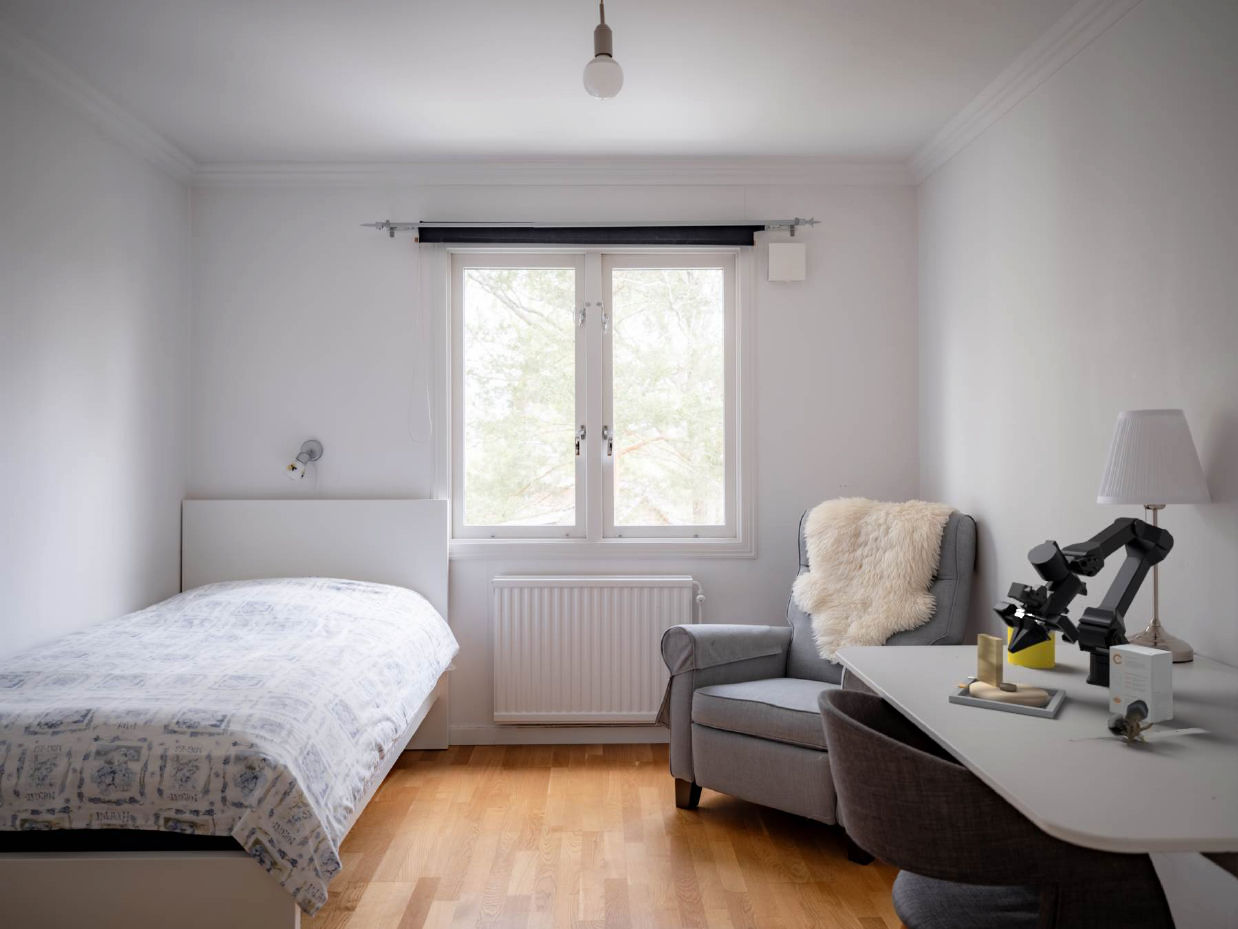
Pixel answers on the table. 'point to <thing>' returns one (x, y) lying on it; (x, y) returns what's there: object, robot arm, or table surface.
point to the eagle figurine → (1131, 721)
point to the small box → (1141, 680)
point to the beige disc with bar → (1001, 678)
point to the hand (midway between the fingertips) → (1010, 651)
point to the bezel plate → (1048, 711)
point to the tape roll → (1034, 654)
